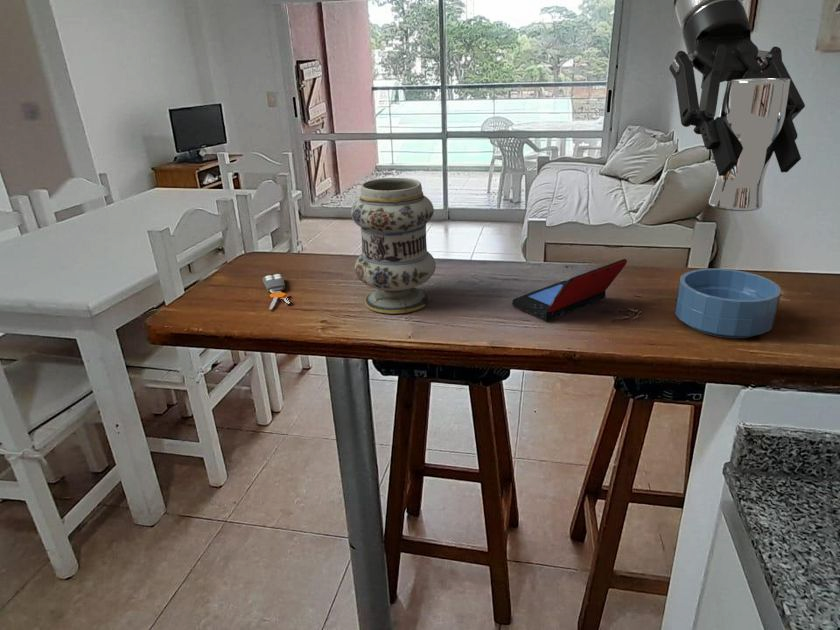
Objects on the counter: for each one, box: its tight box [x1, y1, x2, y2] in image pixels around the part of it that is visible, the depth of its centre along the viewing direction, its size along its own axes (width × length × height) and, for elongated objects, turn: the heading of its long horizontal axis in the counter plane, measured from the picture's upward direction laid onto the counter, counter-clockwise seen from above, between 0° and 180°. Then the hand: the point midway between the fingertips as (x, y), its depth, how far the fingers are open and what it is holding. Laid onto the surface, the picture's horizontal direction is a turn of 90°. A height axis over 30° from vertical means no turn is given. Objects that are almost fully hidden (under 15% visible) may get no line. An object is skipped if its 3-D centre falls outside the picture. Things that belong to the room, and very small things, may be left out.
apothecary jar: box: [350, 177, 437, 315], centre depth 84 cm, size 12×12×18 cm
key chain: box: [262, 273, 290, 311], centre depth 92 cm, size 13×4×2 cm, turn 19°
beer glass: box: [708, 78, 790, 212], centre depth 70 cm, size 7×7×15 cm
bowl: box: [674, 267, 782, 339], centre depth 75 cm, size 12×12×6 cm
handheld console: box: [511, 258, 628, 322], centre depth 81 cm, size 12×11×7 cm
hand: (759, 167), depth 68 cm, fingers closed on beer glass, 7 cm apart
